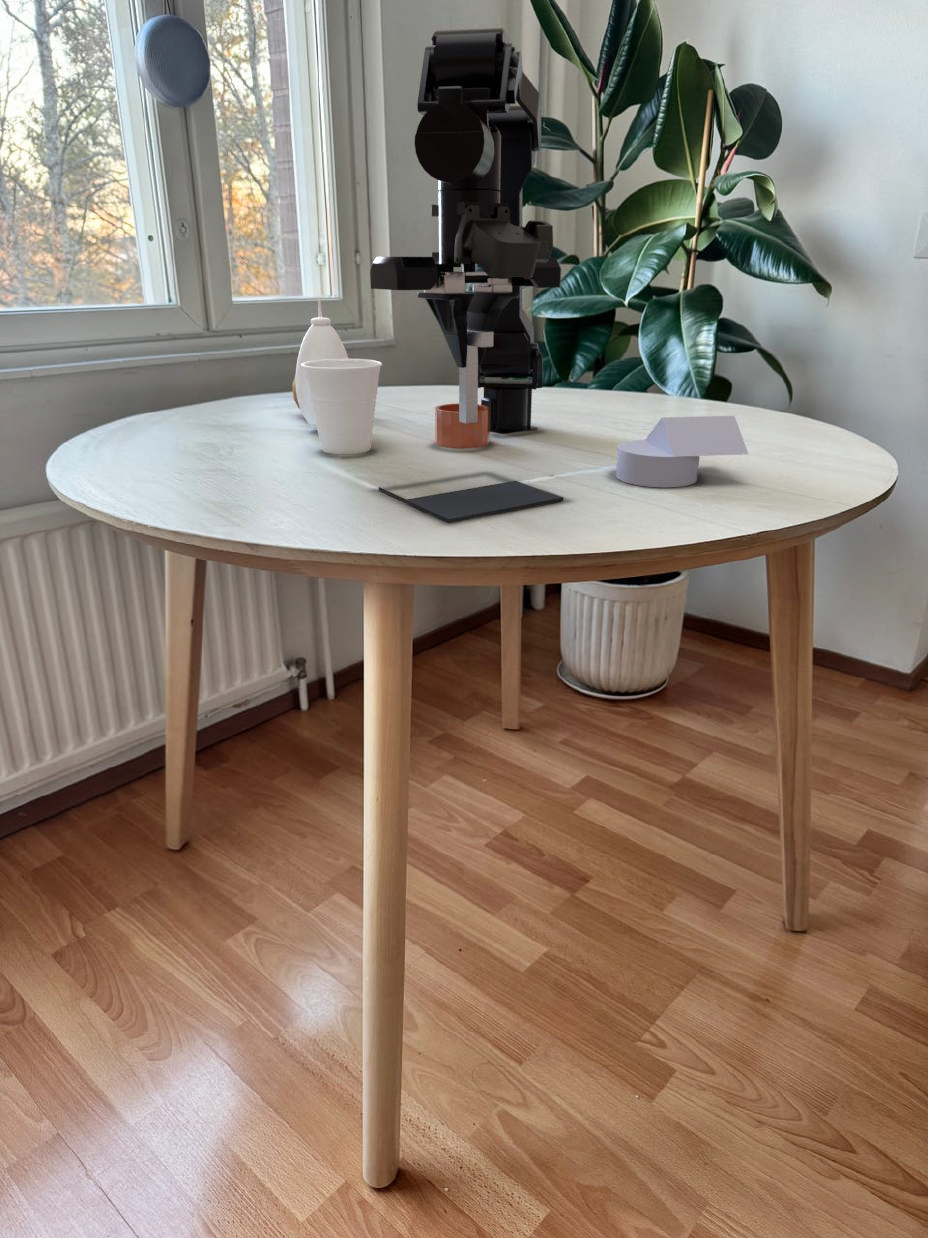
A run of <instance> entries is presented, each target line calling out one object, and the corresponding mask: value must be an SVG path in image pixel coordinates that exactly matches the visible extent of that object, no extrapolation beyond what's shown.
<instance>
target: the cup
mask: <svg viewBox="0 0 928 1238" xmlns="http://www.w3.org/2000/svg"><path fill="white" fill-rule="evenodd" d="M301 367H302V368H303V370H304V374H305V379H306V383H307V387H308V392H309V396H310V400H311V404H312V408H313V412H314V416H315V420H316V424H317V429H318V431H317V435H318V439H319V443H320V448H321V451H322V452H324V453H327V454H331V455H355V454H362V453H366V452H369V451H370V450H371V447H372V439H373V430H374V421H375V414H376V413H375V412H376V403H377V396H378V388H379V382H380V381H379V380H380V371H381V367H383V362H381V361H378V360H375V359H367V358H349V359H322V360H313V361H307V362H304V363H302V364H301Z"/></svg>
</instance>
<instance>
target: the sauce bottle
mask: <svg viewBox="0 0 928 1238" xmlns="http://www.w3.org/2000/svg"><path fill="white" fill-rule="evenodd" d="M317 314H318V316H317V317H313V318H311V319H310V324H311V325H310V327H308V329H307V330H306V332H305V335H304V337H303V339H302V341H301V344H300V348H299V351H298V356H297V360H296V366H295V376H296V377H295V376H294V379H295V383H296V394H297V400H298V403H299V407H300V409H301V410H300V409H299V410H300V412H301V413H302V416H303V418H304V419H305V421H306V422H307V424H308V425H310V426H313V427H314V430H315V431H317V432H318V429H317V424H316V420H315V416H314V412H313V408H312V404H311V400H310V396H309V392H308V387H307V383H306V379H305V374H304V370H303V368H302V367H301V364H302V363H304V362H307V361H313V360H322V359H350V358H349V355H348V352H347V350H346V348H345V345H344V343H343V341H342V339H341V337H340V336H339V334H338V332H337V331H336V330H335V328H334V327H333V326H332V325H331V323H332V322H331V318H329V317H323V310H322V302H321V298H320V297H318V299H317Z"/></svg>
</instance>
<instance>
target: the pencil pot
mask: <svg viewBox="0 0 928 1238" xmlns="http://www.w3.org/2000/svg"><path fill="white" fill-rule="evenodd" d="M489 420H490V408H489V407H488V406H485V405H481V403H480V404H479V403H478V417H477V422H476V423H468V424H466V423H463V422H459V402H457V403H444V404H439V405H437V406H435V407H434V439H435V440H434V443H435V445H436V446H438V447H442V448H446V449H447V448H448V449H476V448H482V447H486V446H488V445H489V444H490V431H489Z"/></svg>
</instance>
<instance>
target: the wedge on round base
mask: <svg viewBox="0 0 928 1238" xmlns="http://www.w3.org/2000/svg"><path fill="white" fill-rule="evenodd" d="M737 455H738V456H739V455H740V456H741V455H743V456H744V455H749V451H748V449H747V446H746V443H745V440H744V437H743V435H742V433H741V429H740V427H739V424H738V421H737V419H736V416H735V415H706V416H673V417H672V416H671V417H667V416H666V417H661V418H660V419H659V421H658V422H657V423H656V424H655V426H654V427H653V429H652V430H651V431H650V432H649V434H648V435H647V436H646V438H645V439H635V440H628V441H624V442H621V443H619V444H618V446H617V457H616V470H615V478H616V479H618V480H619V481H621V482H624V483H627V484H630V485H633V486H634V485H635V486H639V487H647V488H681V487H687V486H691V485H693V484H695V483H696V482H697V481H698V473H699V465H700V457H709V456H710V457H711V456H737Z"/></svg>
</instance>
